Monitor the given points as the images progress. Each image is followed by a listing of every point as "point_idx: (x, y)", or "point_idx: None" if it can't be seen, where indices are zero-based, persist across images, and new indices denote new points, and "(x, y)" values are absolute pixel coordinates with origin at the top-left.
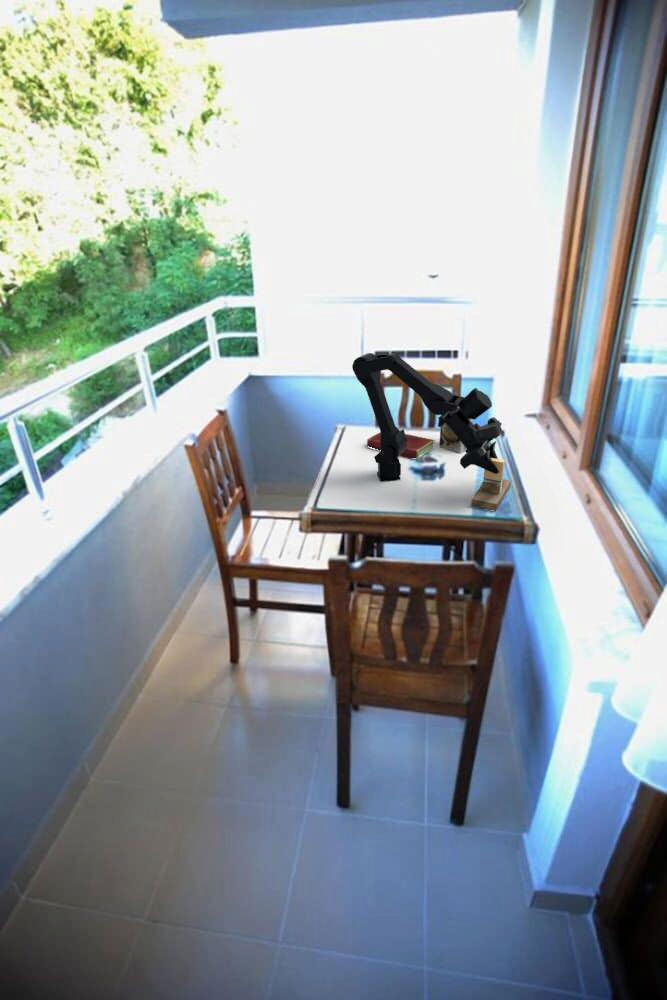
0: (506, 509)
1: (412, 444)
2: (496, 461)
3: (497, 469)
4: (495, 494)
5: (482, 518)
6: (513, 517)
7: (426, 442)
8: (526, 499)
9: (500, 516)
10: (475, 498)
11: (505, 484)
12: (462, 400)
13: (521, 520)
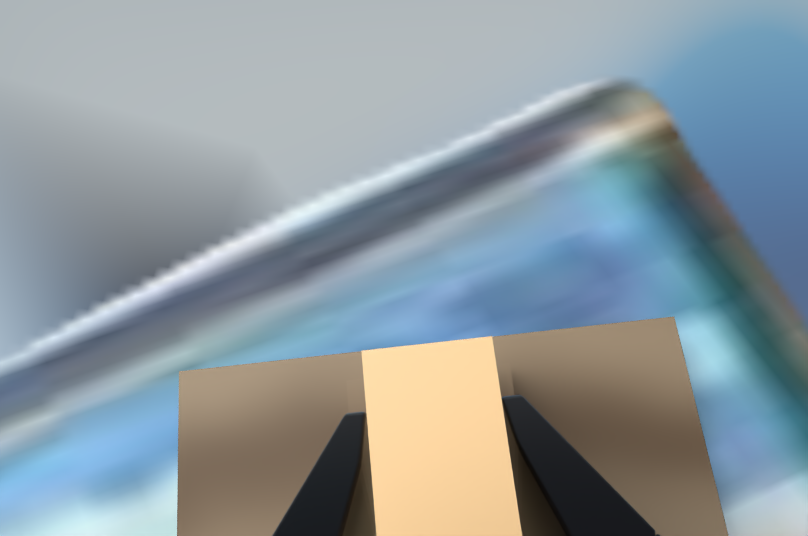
0: (557, 278)
1: None
2: (513, 485)
3: (523, 421)
4: (515, 392)
5: (796, 376)
6: (636, 200)
7: None
8: (337, 215)
9: (680, 277)
10: (703, 528)
11: (278, 387)
12: None
13: (641, 147)
